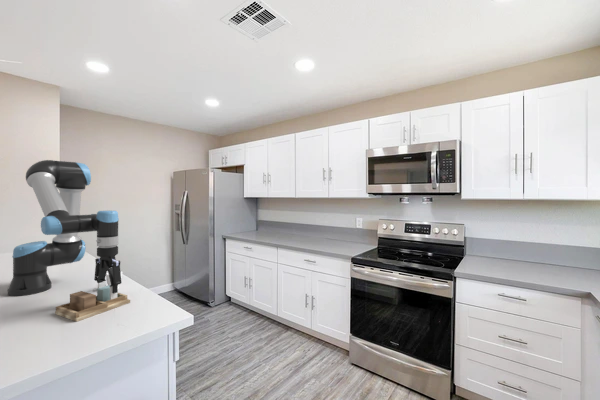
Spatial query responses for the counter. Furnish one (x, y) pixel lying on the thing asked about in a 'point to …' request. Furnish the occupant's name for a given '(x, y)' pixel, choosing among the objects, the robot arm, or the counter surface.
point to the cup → (109, 279)
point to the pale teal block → (104, 293)
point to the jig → (99, 308)
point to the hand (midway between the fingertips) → (107, 298)
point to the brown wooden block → (82, 301)
